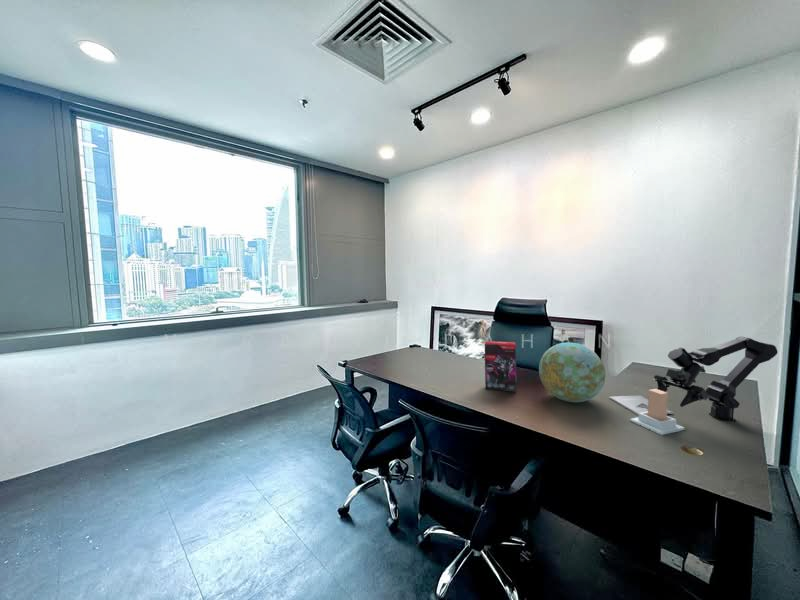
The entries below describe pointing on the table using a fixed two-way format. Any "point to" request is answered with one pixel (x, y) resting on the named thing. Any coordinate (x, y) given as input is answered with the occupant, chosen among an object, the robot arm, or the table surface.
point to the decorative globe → (572, 372)
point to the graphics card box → (500, 366)
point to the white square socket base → (657, 424)
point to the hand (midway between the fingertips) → (668, 402)
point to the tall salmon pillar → (657, 404)
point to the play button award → (633, 403)
